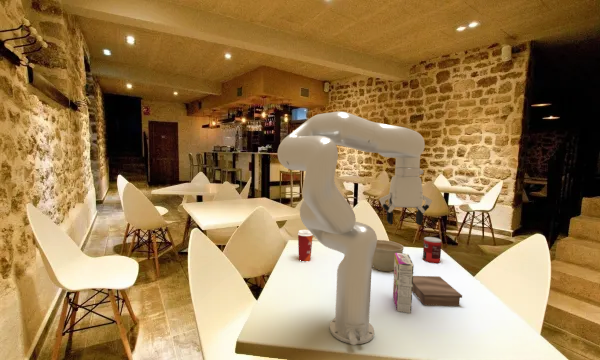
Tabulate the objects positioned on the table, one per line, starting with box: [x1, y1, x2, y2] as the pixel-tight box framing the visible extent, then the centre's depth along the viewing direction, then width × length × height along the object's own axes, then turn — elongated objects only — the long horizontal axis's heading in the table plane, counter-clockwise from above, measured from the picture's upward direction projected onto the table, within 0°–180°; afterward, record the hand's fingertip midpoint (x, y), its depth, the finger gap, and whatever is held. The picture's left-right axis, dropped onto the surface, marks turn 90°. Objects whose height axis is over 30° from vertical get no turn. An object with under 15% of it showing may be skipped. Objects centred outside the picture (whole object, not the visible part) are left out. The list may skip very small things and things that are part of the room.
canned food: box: [422, 236, 442, 264], centre depth 145 cm, size 8×8×11 cm
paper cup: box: [297, 229, 314, 262], centre depth 142 cm, size 8×8×14 cm
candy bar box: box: [392, 253, 414, 314], centre depth 100 cm, size 11×5×16 cm, turn 168°
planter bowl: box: [372, 239, 404, 272], centre depth 134 cm, size 16×16×11 cm
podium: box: [412, 275, 463, 307], centre depth 108 cm, size 16×13×4 cm
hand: (404, 223), depth 99 cm, fingers open, 9 cm apart
